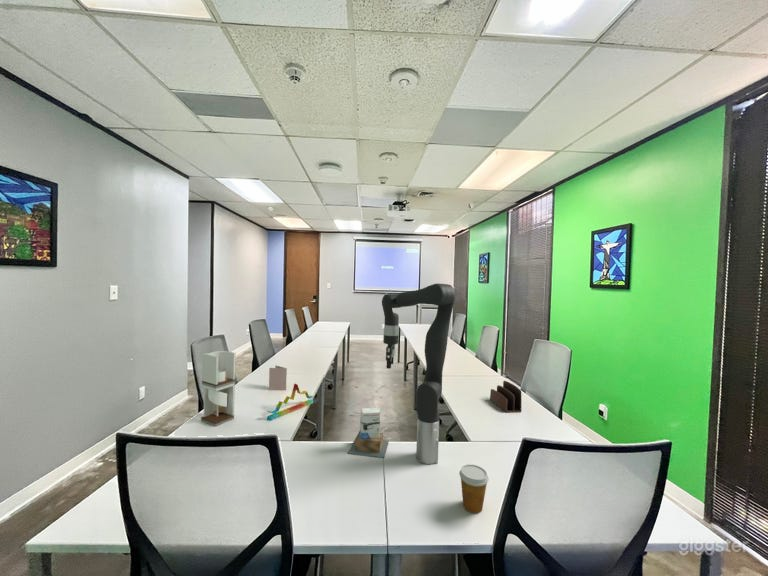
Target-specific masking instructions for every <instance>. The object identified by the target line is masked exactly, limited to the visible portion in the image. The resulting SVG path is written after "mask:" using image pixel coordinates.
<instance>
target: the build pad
mask: <svg viewBox="0 0 768 576" xmlns="http://www.w3.org/2000/svg"><path fill="white" fill-rule="evenodd" d="M355 441H356V437H355V439H353V442H352V444H351V446H350V447H349V450H348V452H347V454H348V455H349V454H350V455H355V456H363V457H364V456H365V457H370V458H379V459H385V457H386V456H385V455H386V454H387V449H388V447H389V442H390V441H389V440H384V439H383V444H382V447H381V450H380V453H377V452H369V451H361V450H355Z"/></svg>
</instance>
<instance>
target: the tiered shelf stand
mask: <svg viewBox="0 0 768 576" xmlns="http://www.w3.org/2000/svg"><path fill="white" fill-rule="evenodd" d="M201 364H202V367H201V368H202V369H201V371H202V373H201V388H203V416H201V417H200V421H201V422H202V423H204V424H207V425H210V426H213V427H217V426H220V425H222V424H225V423H227V422H230V421H232V420H235V399H236V398H235V395H236V393H235V392H236V389H235V388H236V352H231V351H227V350H216V351H212V352H205V353H202V363H201Z"/></svg>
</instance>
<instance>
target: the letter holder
mask: <svg viewBox="0 0 768 576" xmlns="http://www.w3.org/2000/svg"><path fill="white" fill-rule="evenodd" d="M502 383H503V385H502V386H501V385H500V384H498V385H496V390H495V389H493V388H491V389H490V394H489V401H490V402H492V403H493V404H494V405H496V406H497V407H498V408H500V410H501V411H503V412H505V413H507V414H508V413H509V414H510V413H512V414H514V413H522V400H523V399H522V389H520V388H519V387H517V386H516V385H515V384H514V383H511V382H509V381H506V380H503V381H502Z"/></svg>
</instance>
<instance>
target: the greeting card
mask: <svg viewBox="0 0 768 576" xmlns="http://www.w3.org/2000/svg"><path fill="white" fill-rule="evenodd" d="M268 369H269V371H268V373H269V375H268V376H269V377H268V391H287V370H288V369H287V367H283V366H280V365H277V364H276V365H275V366H274V367H269V368H268Z"/></svg>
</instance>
